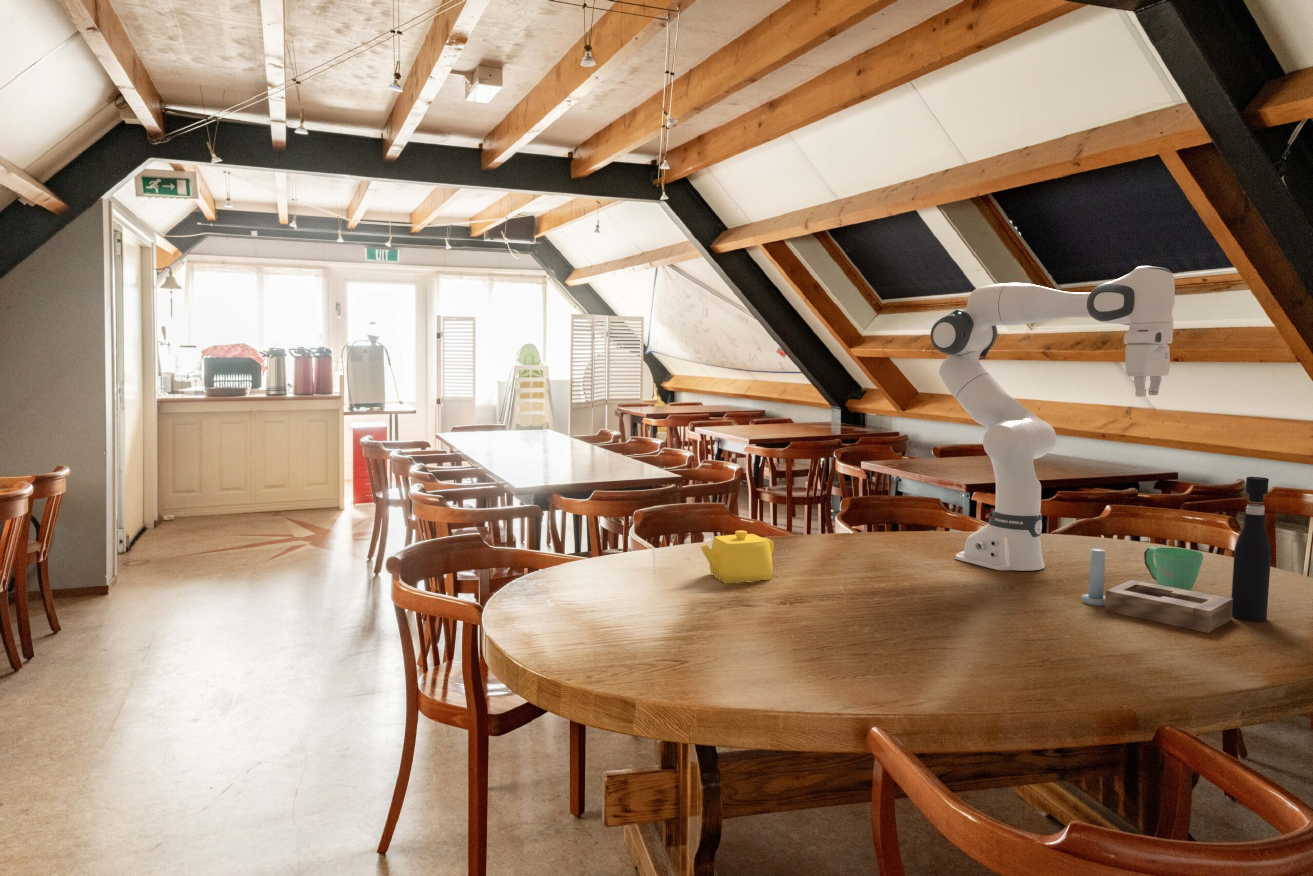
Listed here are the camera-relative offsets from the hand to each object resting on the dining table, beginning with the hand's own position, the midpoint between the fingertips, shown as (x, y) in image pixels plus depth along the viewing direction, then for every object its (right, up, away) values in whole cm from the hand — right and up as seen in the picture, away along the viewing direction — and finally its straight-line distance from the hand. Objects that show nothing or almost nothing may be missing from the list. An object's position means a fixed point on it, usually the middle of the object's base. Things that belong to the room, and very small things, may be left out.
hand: (1147, 395), depth 199 cm
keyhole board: (-5, -48, -16) cm, 51 cm away
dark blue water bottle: (+12, -48, -17) cm, 53 cm away
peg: (-15, -47, -7) cm, 50 cm away
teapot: (-94, -45, +16) cm, 106 cm away
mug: (+7, -46, +3) cm, 47 cm away
